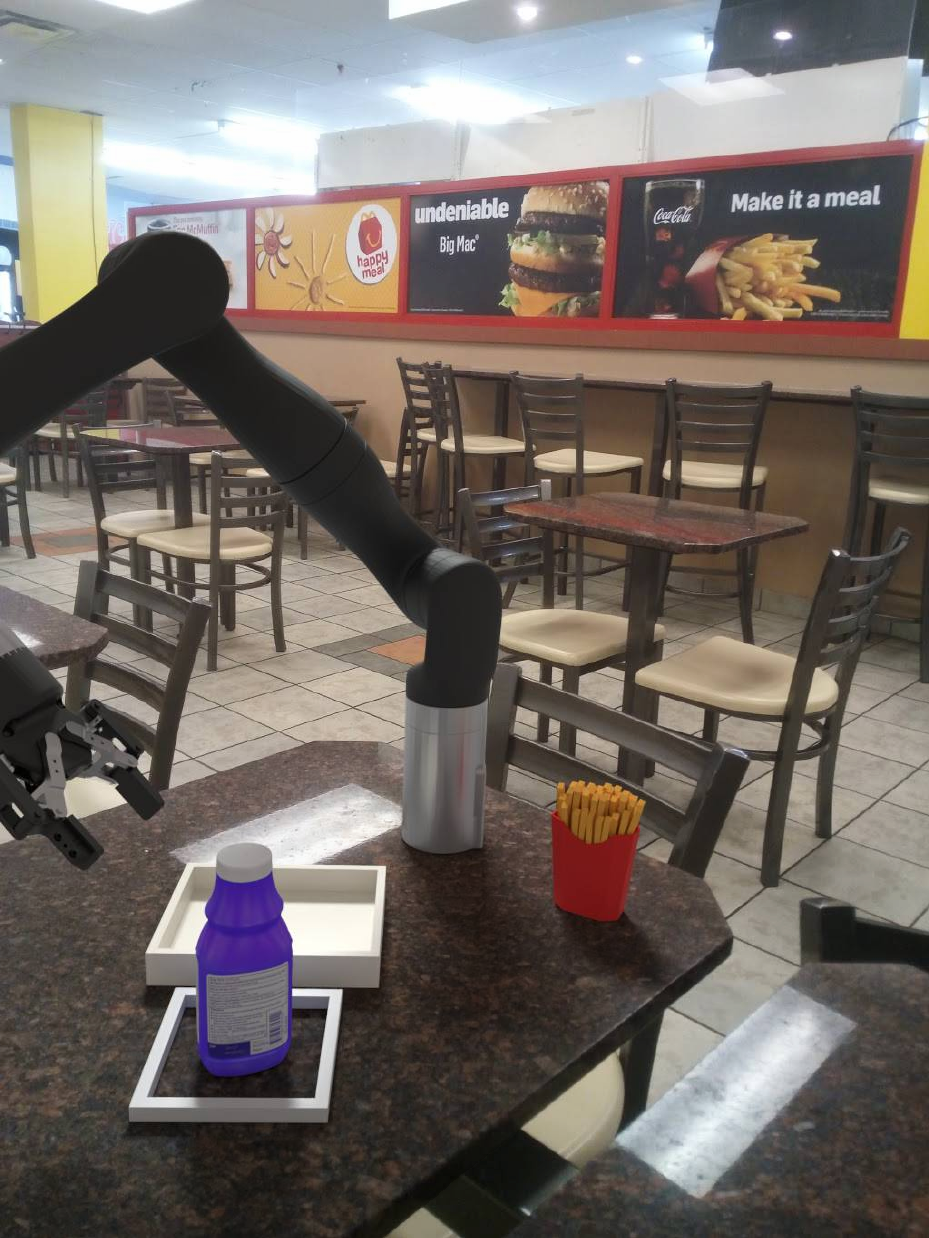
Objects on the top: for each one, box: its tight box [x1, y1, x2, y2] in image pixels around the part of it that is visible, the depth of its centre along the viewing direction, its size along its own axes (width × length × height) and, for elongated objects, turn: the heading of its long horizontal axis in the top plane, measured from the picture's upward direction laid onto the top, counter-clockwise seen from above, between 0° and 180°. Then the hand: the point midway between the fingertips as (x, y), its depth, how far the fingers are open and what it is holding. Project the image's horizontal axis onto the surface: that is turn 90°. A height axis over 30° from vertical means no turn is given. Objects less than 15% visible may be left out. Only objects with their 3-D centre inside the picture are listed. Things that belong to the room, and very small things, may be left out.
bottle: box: [195, 842, 293, 1078], centre depth 76 cm, size 7×6×17 cm
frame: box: [128, 986, 344, 1124], centre depth 78 cm, size 14×14×1 cm
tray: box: [144, 862, 387, 989], centre depth 94 cm, size 20×16×3 cm
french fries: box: [550, 780, 647, 922], centre depth 100 cm, size 9×4×13 cm, turn 63°
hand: (127, 836), depth 76 cm, fingers open, 8 cm apart
